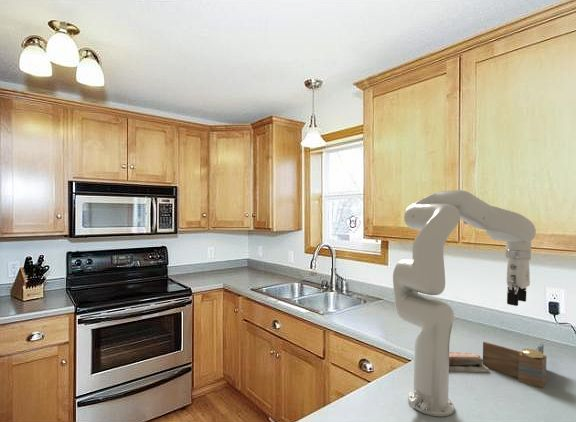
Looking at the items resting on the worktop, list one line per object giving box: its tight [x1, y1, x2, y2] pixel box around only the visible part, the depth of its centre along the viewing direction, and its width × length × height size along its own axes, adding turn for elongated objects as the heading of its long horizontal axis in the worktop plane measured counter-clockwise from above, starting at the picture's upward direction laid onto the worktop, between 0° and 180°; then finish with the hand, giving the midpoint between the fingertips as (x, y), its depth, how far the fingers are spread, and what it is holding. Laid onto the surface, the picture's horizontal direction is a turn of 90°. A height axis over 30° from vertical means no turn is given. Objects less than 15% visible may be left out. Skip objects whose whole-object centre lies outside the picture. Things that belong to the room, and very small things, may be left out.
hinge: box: [482, 341, 548, 389], centre depth 124 cm, size 19×19×9 cm
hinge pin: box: [521, 348, 544, 359], centre depth 115 cm, size 6×6×10 cm
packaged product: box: [449, 351, 490, 373], centre depth 126 cm, size 18×5×10 cm
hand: (516, 302), depth 120 cm, fingers open, 9 cm apart
